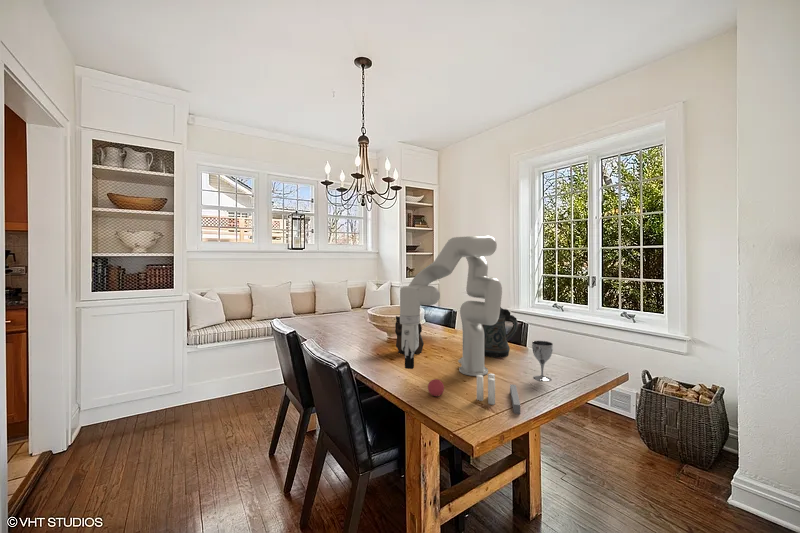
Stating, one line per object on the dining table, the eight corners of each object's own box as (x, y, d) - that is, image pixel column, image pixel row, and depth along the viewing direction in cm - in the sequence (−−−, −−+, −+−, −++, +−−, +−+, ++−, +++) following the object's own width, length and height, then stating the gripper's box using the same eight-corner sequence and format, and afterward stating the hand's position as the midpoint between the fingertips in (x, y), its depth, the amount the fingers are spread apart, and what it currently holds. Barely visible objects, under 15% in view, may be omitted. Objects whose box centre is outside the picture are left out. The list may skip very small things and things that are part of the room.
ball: (424, 394, 132) (424, 378, 132) (437, 391, 135) (437, 375, 135) (434, 400, 127) (434, 383, 127) (447, 396, 130) (447, 380, 130)
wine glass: (540, 382, 142) (540, 346, 142) (528, 376, 150) (528, 341, 150) (556, 380, 145) (557, 344, 144) (544, 374, 152) (544, 340, 152)
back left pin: (486, 397, 129) (486, 374, 129) (491, 395, 130) (491, 373, 130) (491, 399, 127) (491, 376, 127) (496, 397, 128) (496, 374, 128)
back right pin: (486, 402, 124) (486, 379, 124) (491, 401, 125) (491, 377, 125) (491, 405, 122) (491, 381, 122) (496, 403, 123) (496, 379, 123)
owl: (424, 353, 185) (424, 316, 185) (403, 357, 179) (403, 318, 179) (412, 348, 196) (412, 312, 196) (392, 351, 191) (392, 314, 190)
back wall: (520, 414, 115) (520, 405, 115) (513, 413, 116) (513, 404, 116) (515, 392, 133) (515, 384, 133) (510, 392, 133) (510, 384, 133)
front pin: (475, 399, 128) (475, 375, 127) (480, 397, 129) (480, 374, 128) (479, 401, 126) (479, 377, 125) (484, 399, 127) (484, 376, 126)
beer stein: (473, 349, 193) (473, 303, 192) (508, 348, 194) (508, 303, 193) (482, 358, 176) (482, 308, 175) (520, 357, 178) (520, 307, 177)
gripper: (415, 323, 124) (415, 375, 124) (423, 316, 138) (422, 363, 139) (395, 322, 126) (394, 373, 126) (404, 315, 140) (404, 361, 141)
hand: (409, 368), depth 132 cm, fingers closed
